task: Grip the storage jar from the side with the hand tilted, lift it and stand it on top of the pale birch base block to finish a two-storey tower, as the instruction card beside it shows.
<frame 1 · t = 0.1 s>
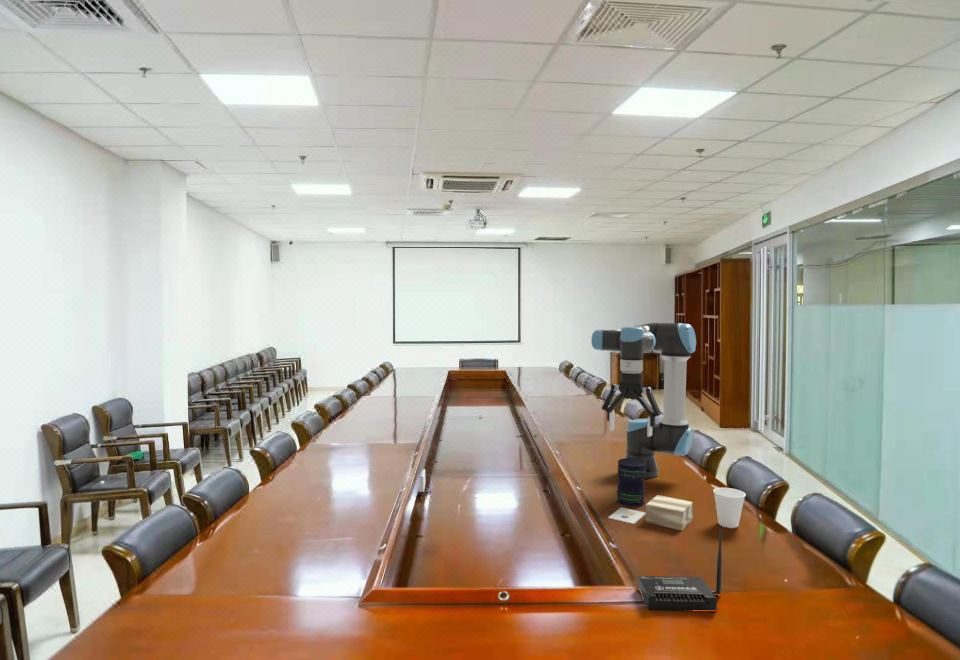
hand: (630, 433, 203), 28 cm above the table, tool pointing down, fingers open, 13 cm apart
storage jar: (630, 502, 215), on the table
cup: (728, 525, 194), on the table
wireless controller: (683, 602, 144), on the table
base block: (669, 520, 197), on the table
instruction card: (627, 515, 201), on the table
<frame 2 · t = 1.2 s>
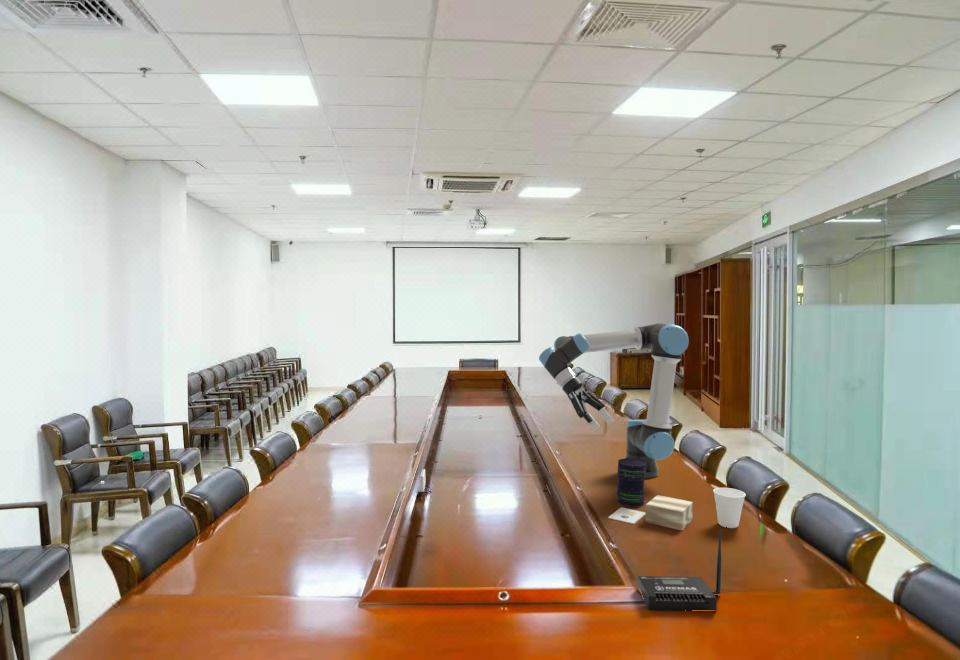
hand: (604, 425, 219), 27 cm above the table, tool tilted 45°, fingers open, 13 cm apart
nothing on the table moved.
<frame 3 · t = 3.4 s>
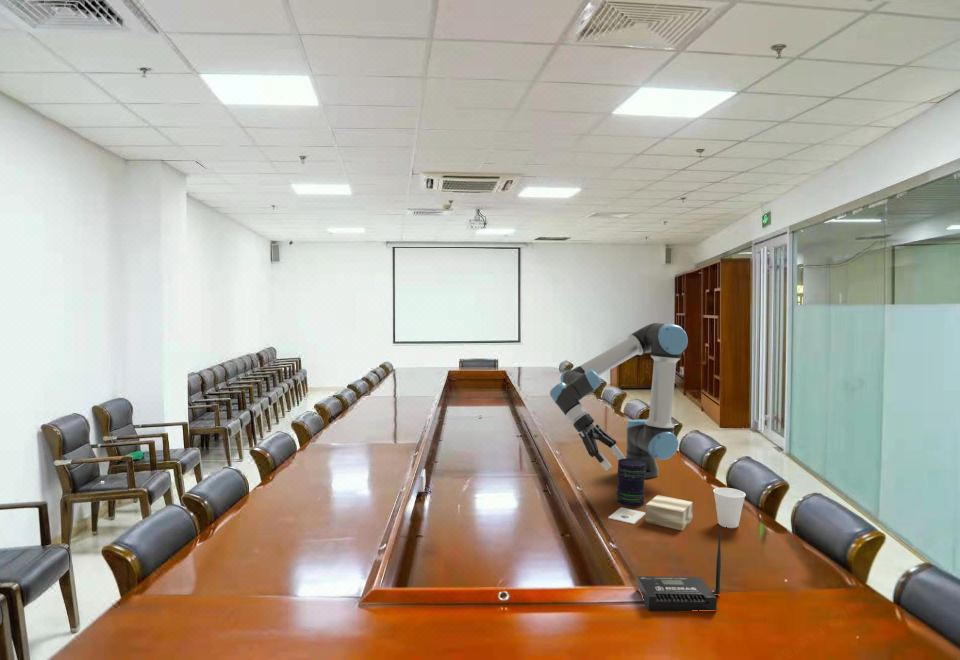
hand: (616, 464, 216), 13 cm above the table, tool tilted 45°, fingers open, 13 cm apart
nothing on the table moved.
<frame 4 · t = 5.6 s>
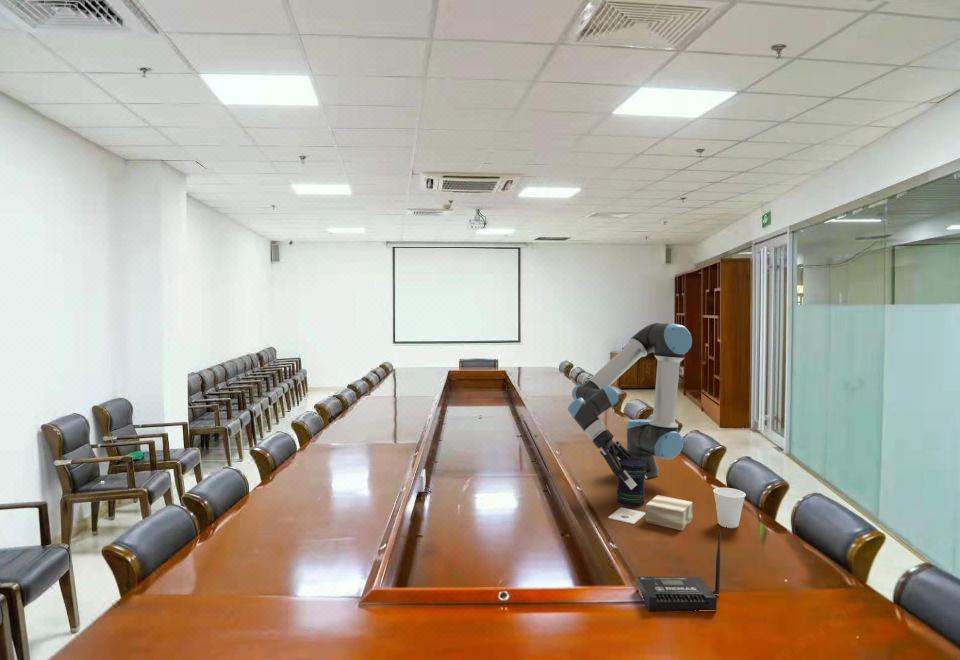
hand: (639, 483, 213), 7 cm above the table, tool tilted 45°, fingers closed on storage jar, 10 cm apart
storage jar: (630, 502, 215), on the table, touching gripper
everything else where it was.
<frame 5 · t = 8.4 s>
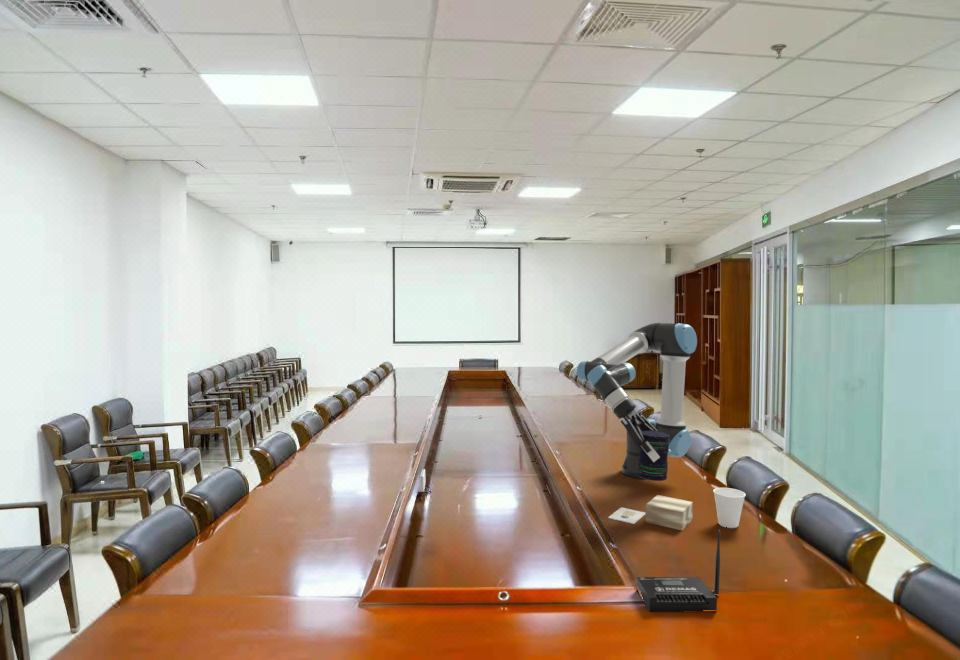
hand: (662, 456, 198), 21 cm above the table, tool tilted 45°, fingers closed on storage jar, 10 cm apart
storage jar: (652, 477, 200), point 14 cm above the table, touching gripper
everything else where it was.
when the fingers open (14 cm above the table, at t = 11.0 s): storage jar stays where it is, resting on base block.
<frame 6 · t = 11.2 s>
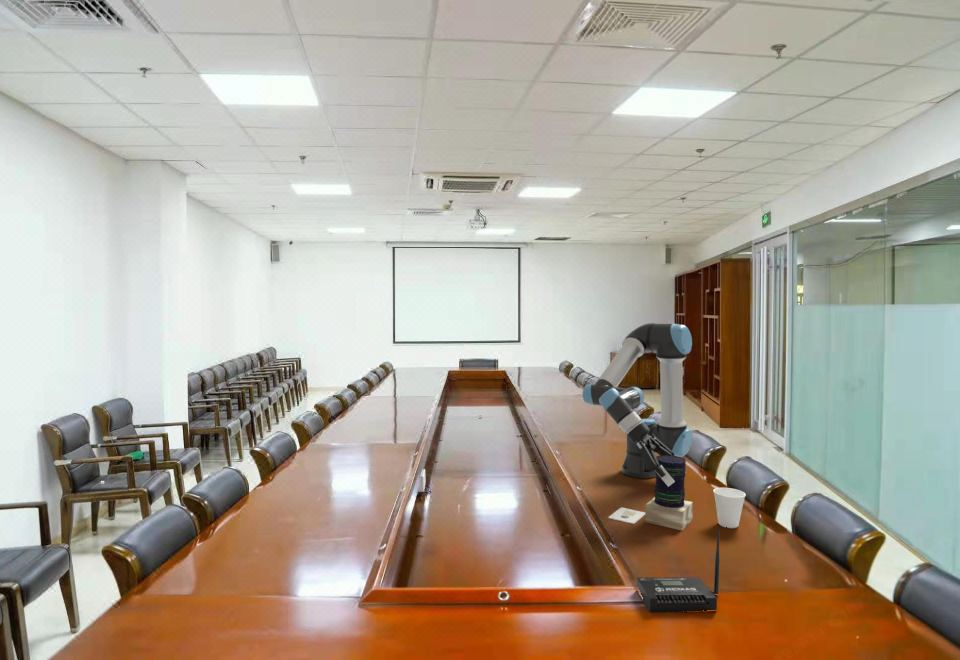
hand: (677, 479, 195), 15 cm above the table, tool tilted 45°, fingers open, 12 cm apart
storage jar: (669, 503, 197), point 6 cm above the table, touching base block
everything else where it was.
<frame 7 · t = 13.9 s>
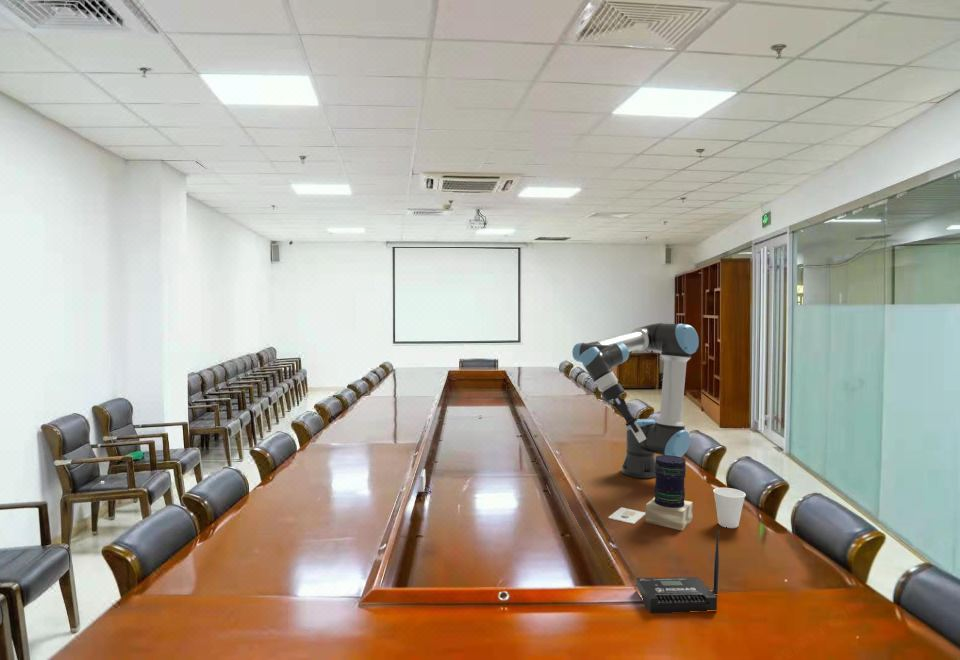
hand: (642, 440, 204), 25 cm above the table, tool tilted 35°, fingers open, 13 cm apart
nothing on the table moved.
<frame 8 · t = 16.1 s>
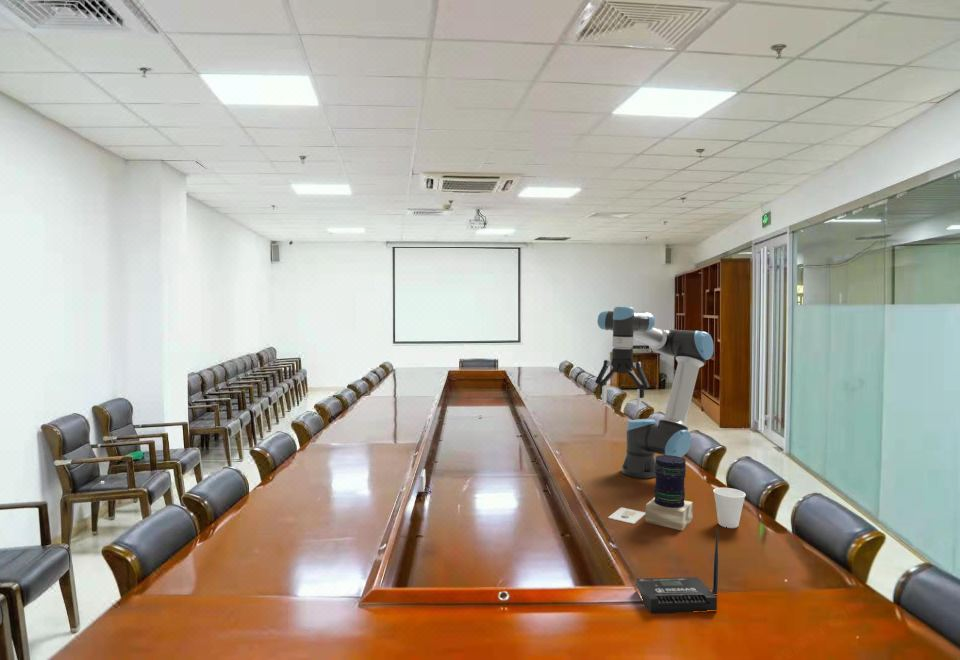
hand: (621, 404, 220), 35 cm above the table, tool pointing down, fingers open, 13 cm apart
nothing on the table moved.
at the end: storage jar inside the target area on the base block (0.1 cm from its centre), point 5.8 cm above the base block's base; storage jar tilted 0°; the gripper is holding nothing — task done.
